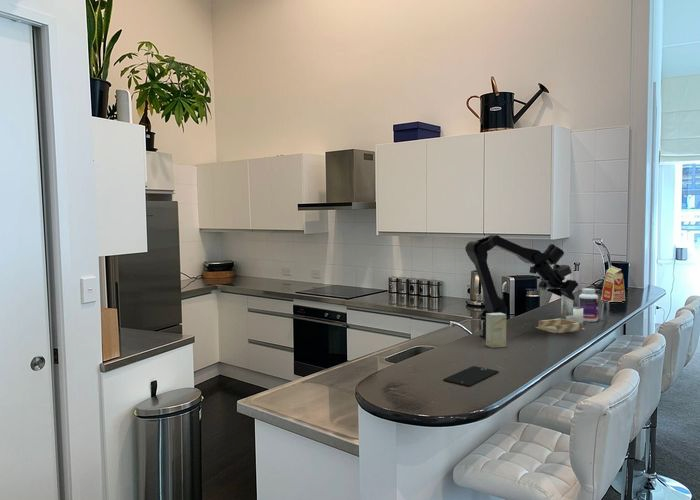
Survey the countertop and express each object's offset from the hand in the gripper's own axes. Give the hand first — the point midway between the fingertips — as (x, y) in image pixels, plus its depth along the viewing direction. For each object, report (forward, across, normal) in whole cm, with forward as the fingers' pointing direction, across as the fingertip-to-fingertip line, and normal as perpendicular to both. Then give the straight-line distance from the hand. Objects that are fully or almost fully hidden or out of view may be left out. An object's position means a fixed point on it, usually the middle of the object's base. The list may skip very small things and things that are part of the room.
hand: (570, 298), depth 214 cm
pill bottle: (+25, +16, -6) cm, 31 cm away
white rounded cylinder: (+18, +12, +1) cm, 22 cm away
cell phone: (-38, -44, +58) cm, 82 cm away
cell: (+4, 0, +6) cm, 7 cm away
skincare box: (-20, -13, +39) cm, 46 cm away
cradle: (+9, +5, +10) cm, 14 cm away
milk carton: (+60, +56, -40) cm, 91 cm away
